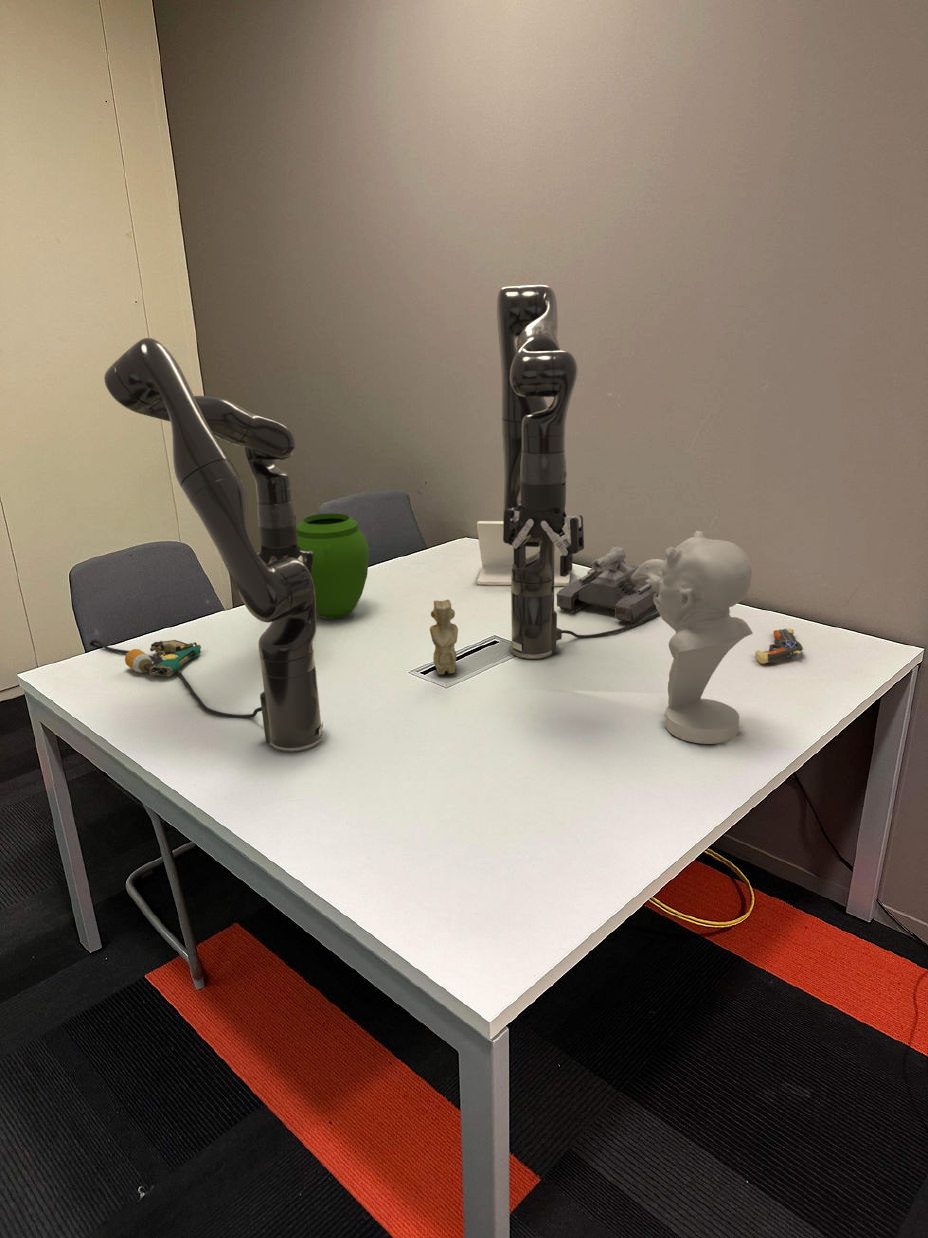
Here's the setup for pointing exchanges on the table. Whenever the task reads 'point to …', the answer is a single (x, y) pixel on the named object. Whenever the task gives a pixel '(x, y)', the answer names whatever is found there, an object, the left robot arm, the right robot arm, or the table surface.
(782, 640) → the toy gun
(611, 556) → the toy
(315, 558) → the vase
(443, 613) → the sculpture
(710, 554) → the bust sculpture
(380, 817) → the table surface
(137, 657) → the spray gun
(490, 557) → the tablet stand
